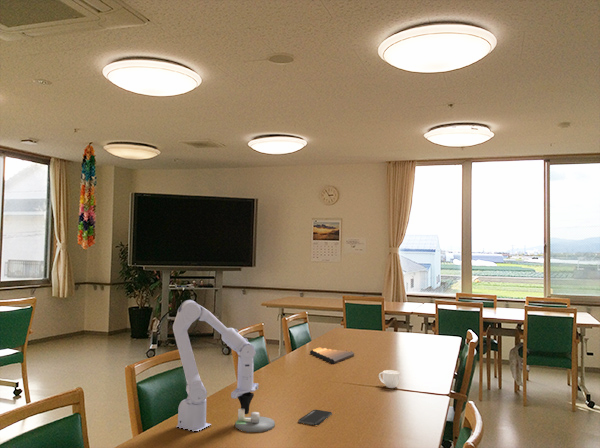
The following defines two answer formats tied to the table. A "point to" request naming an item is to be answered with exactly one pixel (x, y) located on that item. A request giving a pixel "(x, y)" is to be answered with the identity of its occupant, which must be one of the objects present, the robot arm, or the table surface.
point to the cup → (390, 378)
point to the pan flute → (331, 355)
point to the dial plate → (255, 425)
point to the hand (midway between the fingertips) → (244, 413)
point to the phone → (315, 417)
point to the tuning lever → (253, 418)
